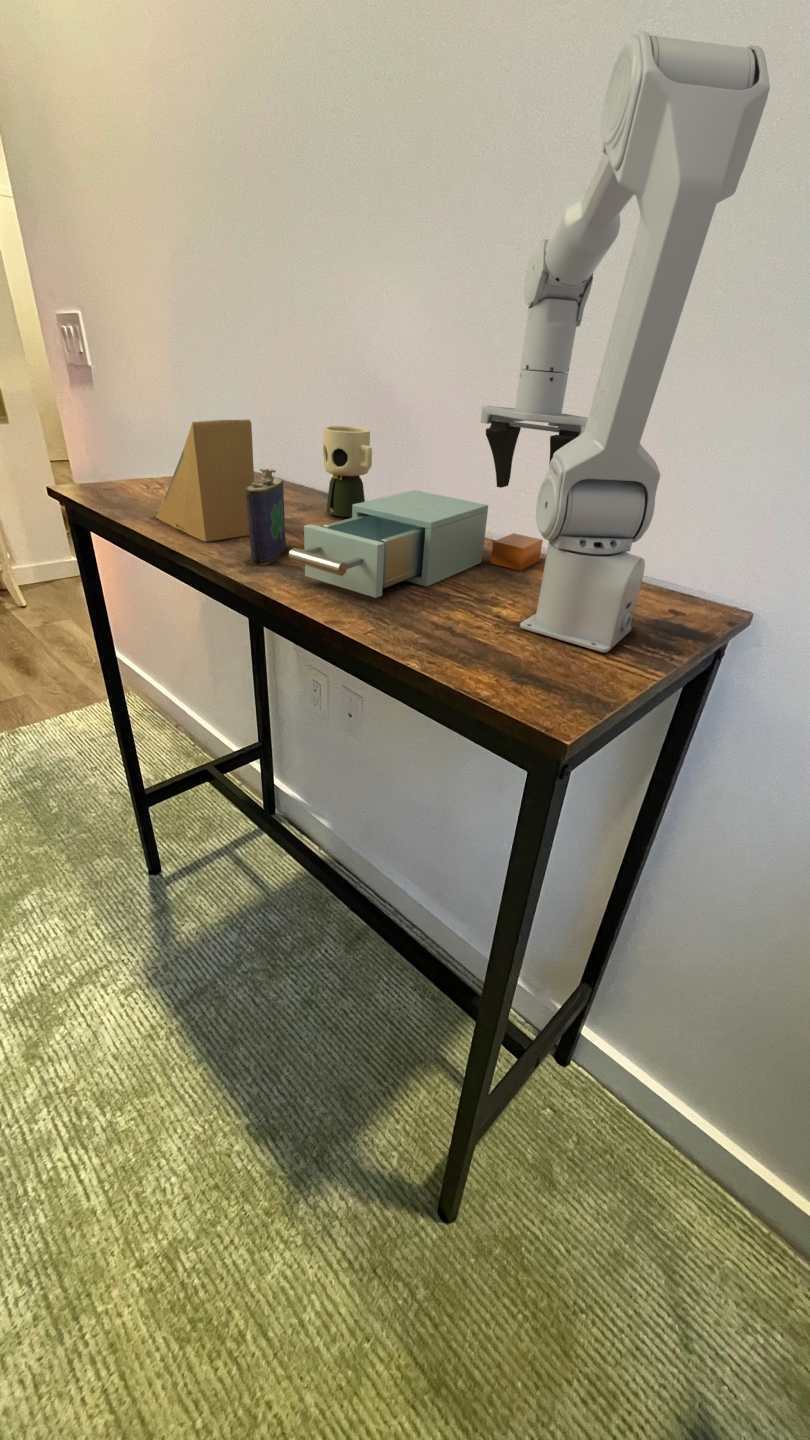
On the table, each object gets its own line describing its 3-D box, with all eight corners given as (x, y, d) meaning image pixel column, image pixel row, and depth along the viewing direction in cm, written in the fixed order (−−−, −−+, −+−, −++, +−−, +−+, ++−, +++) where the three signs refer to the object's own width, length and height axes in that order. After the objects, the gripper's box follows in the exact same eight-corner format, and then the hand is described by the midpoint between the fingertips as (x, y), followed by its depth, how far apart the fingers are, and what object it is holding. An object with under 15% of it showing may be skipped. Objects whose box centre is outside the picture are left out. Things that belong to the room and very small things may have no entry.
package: (539, 561, 88) (543, 539, 86) (520, 570, 83) (523, 548, 82) (510, 554, 90) (513, 533, 88) (490, 563, 86) (493, 541, 84)
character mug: (307, 511, 104) (306, 425, 97) (340, 506, 109) (340, 423, 102) (352, 526, 98) (353, 434, 91) (384, 519, 102) (388, 432, 96)
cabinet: (426, 587, 76) (431, 522, 72) (351, 565, 81) (352, 504, 77) (481, 562, 85) (488, 504, 82) (411, 545, 91) (414, 489, 87)
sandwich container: (206, 511, 100) (196, 406, 93) (259, 533, 91) (252, 419, 83) (154, 517, 95) (138, 407, 87) (204, 542, 86) (191, 421, 78)
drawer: (350, 608, 66) (351, 553, 63) (278, 585, 71) (276, 532, 68) (437, 572, 78) (441, 524, 75) (370, 554, 83) (371, 508, 80)
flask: (271, 544, 87) (267, 461, 81) (291, 546, 87) (289, 463, 81) (247, 564, 79) (241, 473, 73) (269, 566, 79) (265, 476, 73)
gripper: (614, 376, 74) (590, 496, 81) (505, 366, 81) (491, 478, 88) (593, 376, 69) (569, 504, 76) (478, 366, 76) (465, 484, 83)
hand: (525, 490), depth 82 cm, fingers open, 6 cm apart
